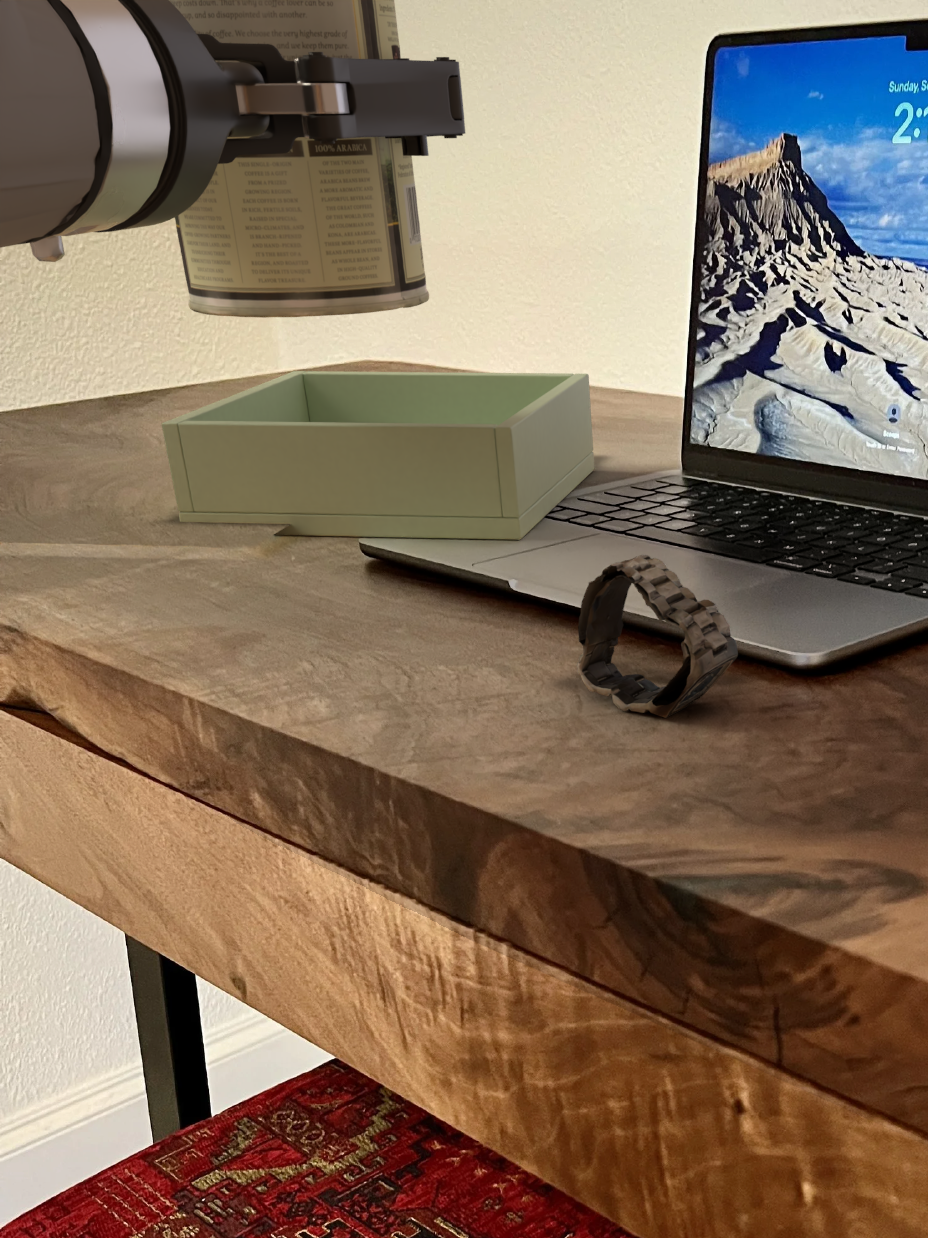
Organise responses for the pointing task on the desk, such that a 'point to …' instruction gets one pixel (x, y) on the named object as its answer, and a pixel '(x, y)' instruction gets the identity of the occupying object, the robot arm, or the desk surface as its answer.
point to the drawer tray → (386, 453)
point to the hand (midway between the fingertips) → (318, 100)
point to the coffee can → (305, 187)
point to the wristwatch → (671, 602)
